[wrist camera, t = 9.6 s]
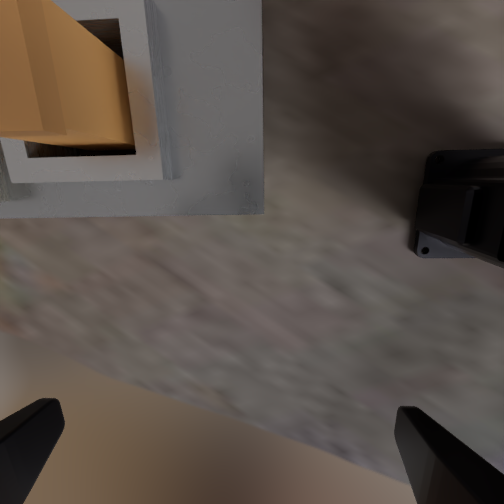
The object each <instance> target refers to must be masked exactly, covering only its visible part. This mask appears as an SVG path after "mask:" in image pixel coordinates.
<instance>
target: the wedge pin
mask: <svg viewBox="0 0 504 504" xmlns="http://www.w3.org/2000/svg"><path fill="white" fill-rule="evenodd" d="M0 137H4V138H11V139H17V140H24V141H31V142H37V143H44V144H51V145H57V146H64V147H71V148H77V149H84V150H91V151H95V150H136V148H135V140H134V133H133V125H132V118H131V110H130V102H129V95H128V87H127V80H126V72H125V64H124V60H123V59H122V58H121V57H120V56H118V55H117V54H116V53H115V52H113V51H112V50H111V49H110V48H109V47H107V46H106V45H105V44H104V43H103V42H101V41H100V40H99V39H98V38H96V37H95V36H94V35H93V34H92V33H90V32H89V31H88V30H87V29H85V28H84V27H83V26H82V25H81V24H79V23H78V22H77V21H76V20H74V19H73V18H72V17H71V16H70V15H68V14H67V13H66V12H65V11H64V10H62V9H61V8H60V7H59V6H57V5H56V4H55V3H54V2H53V1H51V0H0Z"/></svg>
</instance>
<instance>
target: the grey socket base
mask: <svg viewBox="0 0 504 504" xmlns="http://www.w3.org/2000/svg"><path fill="white" fill-rule="evenodd" d="M51 1H53V2H54V3H55V4H56V5H57V6H59V7H60V8H61V9H62V10H64V11H65V12H66V13H67V14H68V15H70V16H71V17H72V18H73V19H74V20H76V21H77V22H78V23H79V24H81V25H82V26H83V27H84V28H85V29H87V30H88V31H89V32H90V33H92V34H93V35H94V36H95V37H96V38H98V39H99V40H100V41H101V42H103V43H104V44H105V45H106V46H107V47H109V48H110V49H111V50H112V51H113V52H115V53H116V54H117V55H118V56H120V57H121V58H122V59H124V64H125V72H126V80H127V87H128V95H129V102H130V110H131V118H132V125H133V133H134V140H135V148H136V155H117V156H82V157H80V154H79V149H77V148H71V147H64V146H57V145H51V144H44V143H37V142H31V141H24V140H17V139H11V138H4V137H0V218H54V217H116V216H179V215H241V214H264V140H263V44H262V0H51Z"/></svg>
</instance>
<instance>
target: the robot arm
mask: <svg viewBox="0 0 504 504" xmlns="http://www.w3.org/2000/svg"><path fill="white" fill-rule="evenodd" d="M437 156H439V158H440V161H439V163H438V164H436V163H435V159H436V157H437ZM415 228H416V229H417V231H416V238H415V244H414V253H415V254H416V255H417V256H419V257H421V258H478V259H481V260H483V261H486V262H489V263H491V264H494V265H496V266H499V267H502V268H504V149H481V150H446V151H436V152H433V153H431V154H430V155H429V156H428V158H427V162H426V169H425V176H424V182H423V186H422V187H421V188H420V193H419V200H418V207H417V214H416V221H415ZM423 247H426V250H425V251H424V252H423V253H421V250H422V248H423ZM64 425H65V421H64V417H63V414H62V409H61V405H60V402H59V400H58V399H56V398H42V399H39V400H37V401H35V402H33V403H32V404H30V405H28V406H26V407H24V408H22V409H21V410H19V411H17V412H15V413H14V414H12V415H10V416H8V417H6V418H5V419H3V420H1V421H0V504H23V503H24V501H25V499H26V497H27V496H28V494H29V492H30V491H31V489H32V487H33V485H34V483H35V481H36V479H37V478H38V476H39V474H40V472H41V471H42V469H43V467H44V465H45V463H46V461H47V459H48V458H49V456H50V454H51V452H52V450H53V449H54V447H55V445H56V443H57V441H58V439H59V437H60V436H61V434H62V432H63V429H64ZM394 435H395V440H396V444H397V446H398V449H399V452H400V455H401V458H402V461H403V464H404V467H405V470H406V473H407V475H408V478H409V481H410V484H411V487H412V490H413V493H414V496H415V499H416V501H417V504H504V474H503V473H501V472H500V471H499V470H497V469H496V468H495V467H494V466H492V465H491V464H490V463H488V462H487V461H486V460H485V459H483V458H482V457H481V456H479V455H478V454H477V453H476V452H474V451H473V450H472V449H470V448H469V447H468V446H467V445H465V444H464V443H463V442H462V441H460V440H459V439H458V438H456V437H455V436H454V435H453V434H451V433H450V432H449V431H447V430H446V429H445V428H444V427H442V426H441V425H440V424H438V423H437V422H436V421H435V420H433V419H432V418H431V417H430V416H428V415H427V414H426V413H424V412H423V411H422V410H421V409H419V408H417V407H415V406H400V407H399V408H398V410H397V416H396V423H395V429H394Z"/></svg>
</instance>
